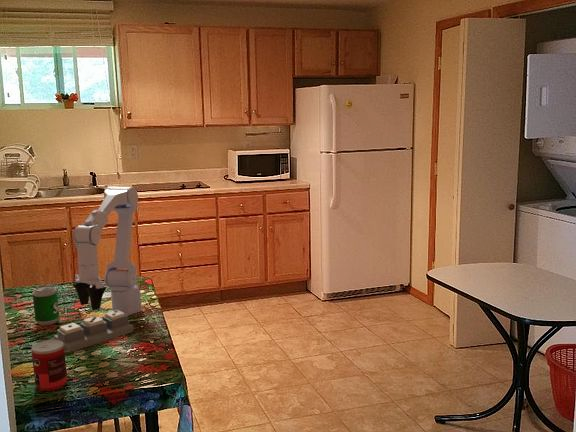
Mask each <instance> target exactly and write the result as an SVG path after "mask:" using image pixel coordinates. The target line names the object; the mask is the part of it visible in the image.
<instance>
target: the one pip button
mask: <svg viewBox="0 0 576 432" xmlns="http://www.w3.org/2000/svg"><path fill="white" fill-rule="evenodd" d="M59 329H60V331H61V332H63V333H65V334H69V333H72V332H76V331H79V330H81V325H79V324H77V323H75V322H72V323H68V324H64V325H61V326H59Z"/></svg>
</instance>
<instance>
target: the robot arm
mask: <svg viewBox="0 0 576 432" xmlns="http://www.w3.org/2000/svg"><path fill="white" fill-rule="evenodd" d="M138 202H139V194H138V191H137V189H136V188H135V186H110V185H109V186H107V187H106V188H105V189H104V191H103V201H102V202H101V204H100V206H99V207H98V209H94V210H92V211H91V212H90V214H89V215H88V217H87V218H86V219H85V221H84V222H83V223H82V224H81V225H80V224H79V225H77V226H76V227H75V228H74V230H73V233H72V240H73V242H74V245H75V247H74V248H75V250H76V251H77V265H78V267H77V268H78V274H77V273H76V274H75V275H74V276H75V277H74V278H75V279H74V281H75V282H73V283H72V287H74V290H75V292H76V293H77V296H78V300H79V303H80V305H81V306H86V305H88V304H89V299H90V306H91V310H92V311H95V310H96V311H97V310H100V308H101V304H102V300H103V299H102V296H103V294H104V293H106V292H105V291H106V290H107V287H108V290H110V292H111V297H112V298H111V307H112V308H111V309H110V310H108V311H107V313H108V312H112V311H115V310H119V311H121V312H123V313H125V315H128V316H130V315H134V314H137V313H139V312H140V313H141V312H143V310H144V309H143V308H142V298H141V297H142V296H141V290H140V288H139V286H137V281H138V274H137V272H138V271H137V266H136V265H135V264H134V263H133V262H132V261H130V255H131V243H132V234H133V233H132V232H133V224H134V223H133V222H134V213H135V212H137V210H138V204H139V203H138ZM112 211H114V212H115V213H117V224H116V225H117V226H116V235H115V247H114V257H113V258H114V259H113V260H112V261H110V263H108V264H107V265H106V271H105V272H104V277H103V279H104V281H102V280H101V278H100V276H99V261H98V260H99V259H98V244H99V242H100V241H101V236H102V234H103V233H102V231H103V229H104V227H106V225H107V223H108V222H109V217H108V216H110V214H111V212H112ZM103 283H105V284H103ZM91 285H92V286H91ZM104 285H105V286H104ZM90 286H91V287H90Z"/></svg>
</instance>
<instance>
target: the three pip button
mask: <svg viewBox="0 0 576 432" xmlns="http://www.w3.org/2000/svg"><path fill="white" fill-rule="evenodd" d="M82 322H84V324H85V325H87V326H88V327H92V326H95V325H99V324H102V323H103V318H101V317H99V316H91V317H89V318H84V319H83V320H82Z"/></svg>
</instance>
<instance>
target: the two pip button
mask: <svg viewBox="0 0 576 432" xmlns="http://www.w3.org/2000/svg"><path fill="white" fill-rule="evenodd" d="M104 316H106V318H108V319H110V320H115V319H118V318H122V317H125V313H123V312H121V311H119V310H115V311H112V312H108V311H107V312H105V315H104Z"/></svg>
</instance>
